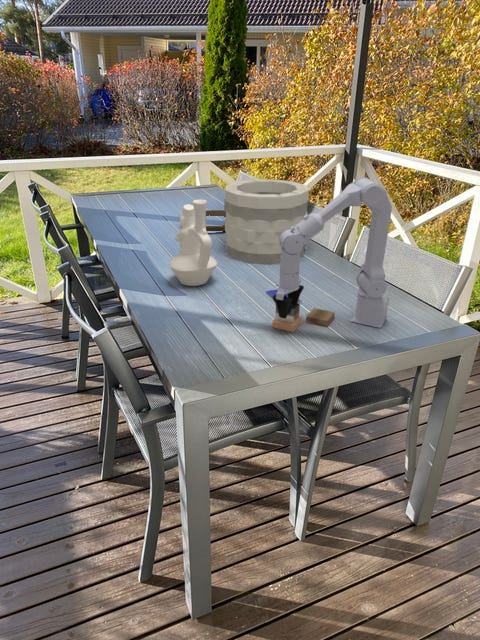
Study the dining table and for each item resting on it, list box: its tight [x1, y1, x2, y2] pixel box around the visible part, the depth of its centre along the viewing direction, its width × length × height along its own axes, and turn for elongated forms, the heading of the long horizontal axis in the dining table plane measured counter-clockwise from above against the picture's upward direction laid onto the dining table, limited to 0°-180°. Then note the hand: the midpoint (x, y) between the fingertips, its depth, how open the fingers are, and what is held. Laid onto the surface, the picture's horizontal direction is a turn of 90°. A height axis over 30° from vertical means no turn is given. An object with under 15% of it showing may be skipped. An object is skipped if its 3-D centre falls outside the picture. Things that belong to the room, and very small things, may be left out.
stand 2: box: [305, 307, 335, 328], centre depth 158 cm, size 7×7×2 cm
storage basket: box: [223, 179, 310, 266], centre depth 212 cm, size 35×35×27 cm
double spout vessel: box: [168, 199, 218, 287], centre depth 178 cm, size 18×22×32 cm
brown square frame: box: [206, 209, 226, 231], centre depth 252 cm, size 31×31×5 cm
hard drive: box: [265, 288, 303, 305], centre depth 173 cm, size 2×8×12 cm
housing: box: [274, 302, 301, 324], centre depth 153 cm, size 6×4×5 cm
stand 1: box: [271, 316, 303, 333], centre depth 155 cm, size 7×7×2 cm
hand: (287, 312), depth 153 cm, fingers open, 7 cm apart
